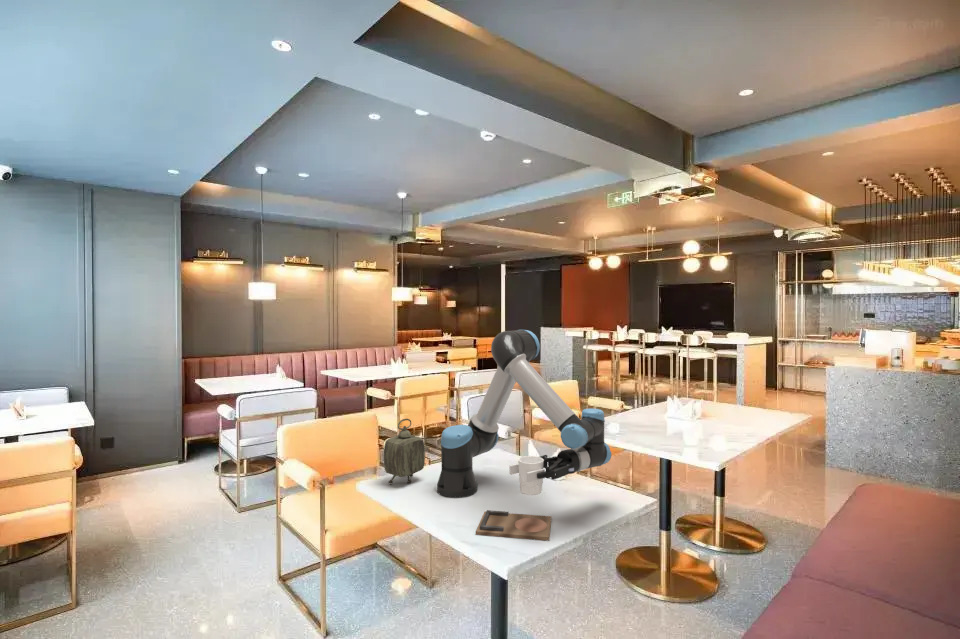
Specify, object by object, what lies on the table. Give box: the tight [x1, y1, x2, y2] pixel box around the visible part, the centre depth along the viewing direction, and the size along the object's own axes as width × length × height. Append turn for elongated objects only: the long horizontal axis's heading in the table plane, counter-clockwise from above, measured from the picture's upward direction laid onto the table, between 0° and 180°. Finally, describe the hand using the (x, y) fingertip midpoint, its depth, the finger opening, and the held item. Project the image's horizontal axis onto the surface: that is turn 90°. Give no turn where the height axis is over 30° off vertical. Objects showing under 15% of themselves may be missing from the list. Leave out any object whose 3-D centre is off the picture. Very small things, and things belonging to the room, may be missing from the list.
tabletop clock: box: [383, 418, 426, 484], centre depth 196 cm, size 14×9×25 cm, turn 140°
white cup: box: [517, 455, 544, 496], centre depth 155 cm, size 8×8×10 cm
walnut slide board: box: [475, 509, 552, 542], centre depth 156 cm, size 22×15×2 cm
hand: (518, 473), depth 152 cm, fingers closed on white cup, 8 cm apart
